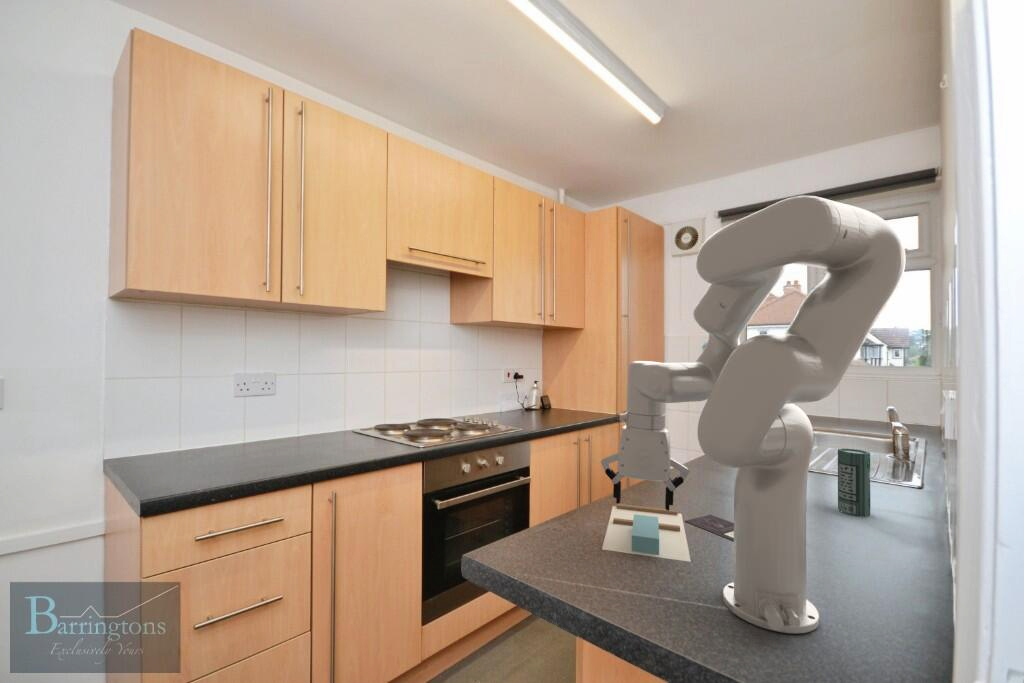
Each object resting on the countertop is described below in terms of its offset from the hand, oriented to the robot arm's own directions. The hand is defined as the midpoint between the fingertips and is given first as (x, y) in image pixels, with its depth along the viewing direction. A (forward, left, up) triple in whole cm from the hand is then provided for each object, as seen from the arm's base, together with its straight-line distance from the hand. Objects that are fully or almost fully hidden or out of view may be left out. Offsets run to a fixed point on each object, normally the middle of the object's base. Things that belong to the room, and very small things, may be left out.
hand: (642, 504), depth 92 cm
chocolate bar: (+10, -19, -8) cm, 23 cm away
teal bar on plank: (-1, -1, -7) cm, 7 cm away
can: (+35, -50, -8) cm, 61 cm away
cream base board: (+5, -1, -7) cm, 9 cm away
